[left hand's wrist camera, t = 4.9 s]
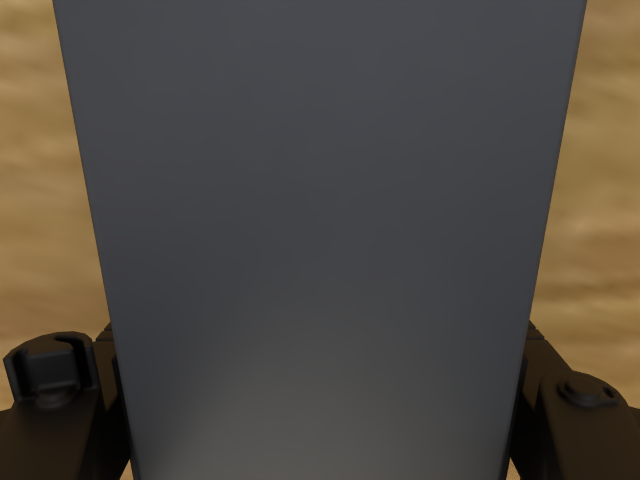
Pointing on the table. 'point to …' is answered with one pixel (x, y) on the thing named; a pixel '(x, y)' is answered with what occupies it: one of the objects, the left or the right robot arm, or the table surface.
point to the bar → (319, 224)
